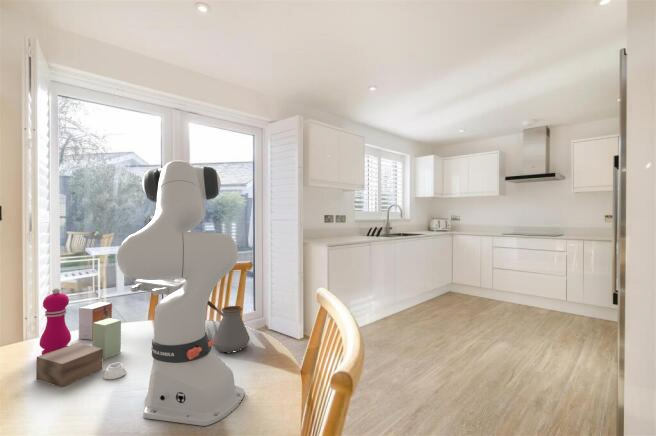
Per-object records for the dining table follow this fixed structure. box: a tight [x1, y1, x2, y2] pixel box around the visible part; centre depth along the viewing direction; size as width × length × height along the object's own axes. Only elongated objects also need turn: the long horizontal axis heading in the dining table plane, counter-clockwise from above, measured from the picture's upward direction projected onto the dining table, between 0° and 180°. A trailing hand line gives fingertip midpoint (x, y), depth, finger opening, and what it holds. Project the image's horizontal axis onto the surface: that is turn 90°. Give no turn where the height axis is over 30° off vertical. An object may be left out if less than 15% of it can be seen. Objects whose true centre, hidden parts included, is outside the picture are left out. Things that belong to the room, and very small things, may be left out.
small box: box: [78, 301, 113, 341], centre depth 114 cm, size 8×6×10 cm
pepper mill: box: [39, 287, 72, 355], centre depth 98 cm, size 7×7×20 cm
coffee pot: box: [207, 300, 251, 353], centre depth 108 cm, size 21×12×15 cm, turn 60°
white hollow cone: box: [103, 362, 127, 380], centre depth 87 cm, size 5×3×5 cm
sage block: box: [92, 317, 122, 360], centre depth 99 cm, size 5×5×10 cm
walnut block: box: [35, 342, 104, 388], centre depth 87 cm, size 10×10×6 cm
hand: (142, 291), depth 110 cm, fingers open, 8 cm apart
